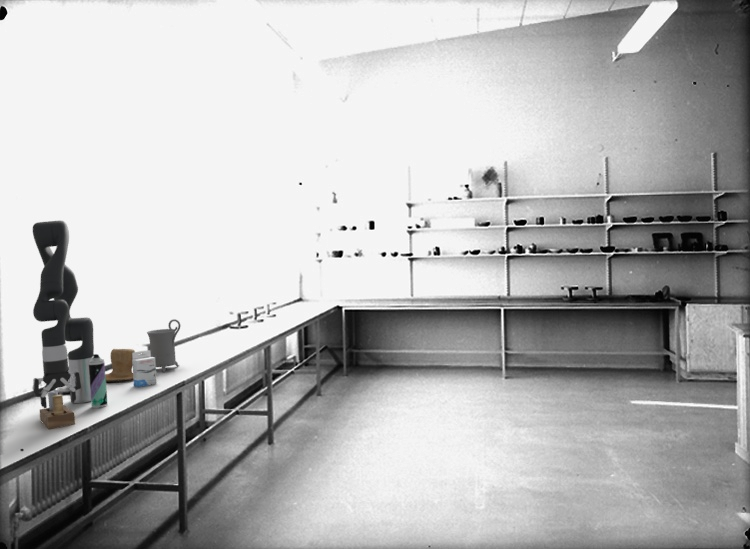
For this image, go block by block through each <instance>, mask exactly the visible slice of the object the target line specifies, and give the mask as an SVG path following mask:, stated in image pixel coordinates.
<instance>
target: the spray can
mask: <svg viewBox="0 0 750 549" xmlns="http://www.w3.org/2000/svg"><path fill="white" fill-rule="evenodd" d="M105 374H106V367H105V359H103V358H102V357H100V356H99V354H97V353H94V357H93V358H92V359H91V360H90V361H89V375H90V389H91V401H90V402H91V408H93V409H94V408H95V409H97V408H99V407H100V408H104V407H106V406H105V405H107V406H108V394H107V393H108V392H107V382H106V377H105ZM103 406H104V407H103Z"/></svg>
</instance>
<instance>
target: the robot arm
mask: <svg viewBox="0 0 750 549" xmlns="http://www.w3.org/2000/svg"><path fill="white" fill-rule="evenodd" d="M32 234H33V239H34V242H35V245H36V247H37V250H38V254H39V255H40V258H41V261H42V263H43V266H44V267H43V268H42V269H41V270H42V271H41V273H40V282H39V286H40V289H39V291H38V292H39V293H38V295H37V296H38V297H37V299H36V301H35V303H34V306H33V310H32V314H33V317H34V319H35V320H36V321H38V322H40V323H42V322H44V323H45V322H55V321H56V322H57V323H56V325H54V326H51V327H48V328H44V329H42V331H41V345H42V348H41V349H42V351H41V352H42V353H41V355H42V367H43V368H42V369H43V376H42V377H39V378H38V377H34V378H33V381H32V382H33V383H32V384H33V396H34V397H35V398H36V397H37V398H40V399H39V400H40V405H41V407H42V408H43V409H45V408H48V407H47V406H48V405H47V397H46V395H47V394H48V393H49V392H50V390H51V389H53V390H55V389H57V388H64V387H66V388H67V389H68V390H70V391H69V396H70V398H69V399H70V402H71V403H72V404H82V403H89V402H91V389H90V375H89V361H90V360H91V359H92V358H93V357H94V354H95V353H94V352H95V351H94V350H95V348H94V345H95V344H94V324H93V320H92V319H91V318H90V317H75V318H74V317H71V314H70V311H71V307H72V305H73V303H74V301H75V299H76V297H77V294H78V291H79V287H78V283H77V278H76V275H75V273H74V271H73V270H72V269H71V268H70V267H69V266H67V264H66V259H67V255H68V254H67V253H68V248H69V244H70V231H69V227H68V224H67V223H66V222H65V221H64V220H50V221H39V222H35V223H34V224H33V226H32ZM51 247H56V248H55V250H54V252H53V250H52V249H51ZM66 342H81V345H80V346H79V347H77V348H75V349H73V350H70V351H68V350H67V349H68V348H67V345H66ZM42 382H43V383H44V384H45V385H44V387H43V389H42V390H41V392H40V385H41V384H42Z"/></svg>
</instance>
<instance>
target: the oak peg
mask: <svg viewBox="0 0 750 549" xmlns="http://www.w3.org/2000/svg"><path fill="white" fill-rule="evenodd" d="M63 397H64V396H63V394H58V395H55V396H53V408H54V415H60V414H64V408H63V405H64V399H63Z"/></svg>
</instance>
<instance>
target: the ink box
mask: <svg viewBox="0 0 750 549" xmlns="http://www.w3.org/2000/svg"><path fill="white" fill-rule="evenodd" d="M132 357H133V360H132V364H133V366H132V373H133V379H132V380H133V386H134V387H137V388H140V387H145V386H146V387H147V386H151V384H152V385H156V383H157V382H158V381H157V369H156V368H157V367H156V364H155V357H151V352H150V349H148V350H141V351H140V350H139V351H135V352H133V353H132ZM157 384H158V383H157Z"/></svg>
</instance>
